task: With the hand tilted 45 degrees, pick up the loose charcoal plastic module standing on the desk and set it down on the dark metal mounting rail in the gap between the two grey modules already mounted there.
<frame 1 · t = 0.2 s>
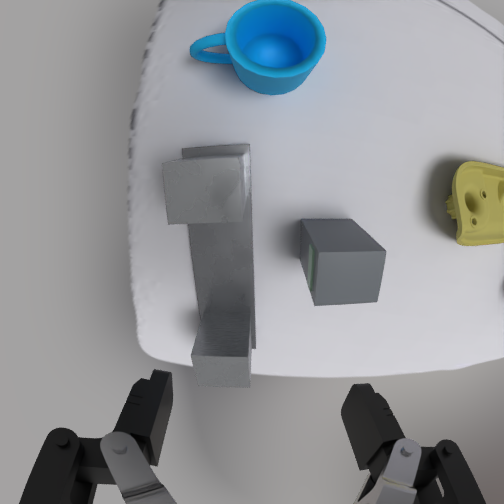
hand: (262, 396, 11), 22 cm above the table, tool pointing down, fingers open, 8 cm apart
mug: (254, 61, 25), on the table
module: (325, 239, 32), on the table
plastic component: (477, 200, 29), on the table
rail: (223, 258, 33), on the table
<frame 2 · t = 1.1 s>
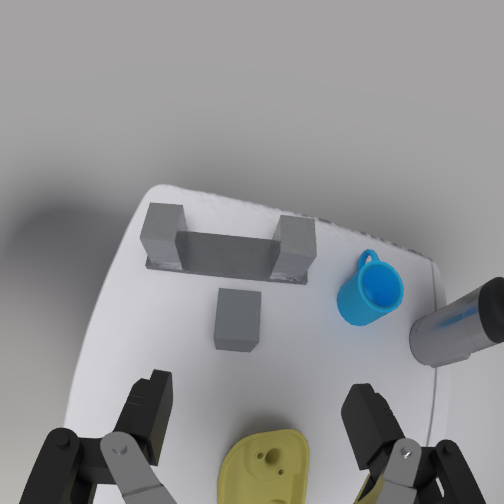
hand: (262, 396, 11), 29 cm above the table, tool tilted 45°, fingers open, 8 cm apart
mug: (357, 292, 45), on the table
module: (234, 331, 40), on the table
plastic component: (263, 482, 30), on the table
rail: (227, 257, 46), on the table
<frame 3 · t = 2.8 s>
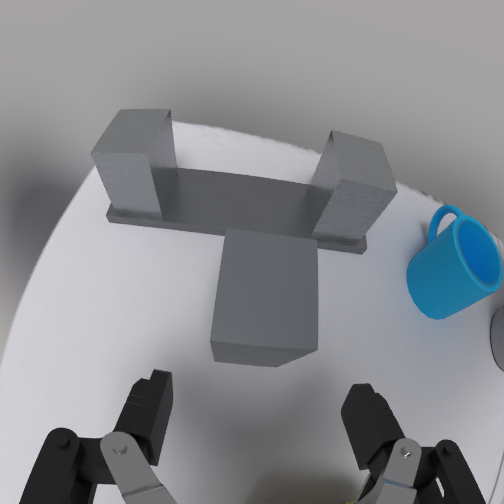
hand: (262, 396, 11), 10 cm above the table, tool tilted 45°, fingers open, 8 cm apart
mug: (429, 270, 27), on the table
module: (249, 329, 22), on the table
rail: (238, 207, 28), on the table
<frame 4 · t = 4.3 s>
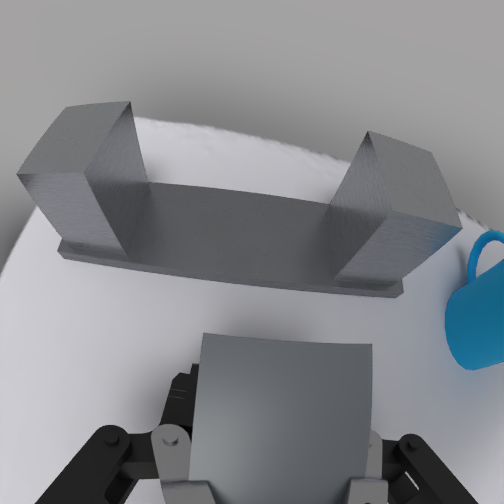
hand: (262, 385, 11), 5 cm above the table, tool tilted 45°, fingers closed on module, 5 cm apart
mug: (467, 309, 20), on the table
module: (248, 414, 15), on the table, touching gripper
rail: (232, 238, 20), on the table
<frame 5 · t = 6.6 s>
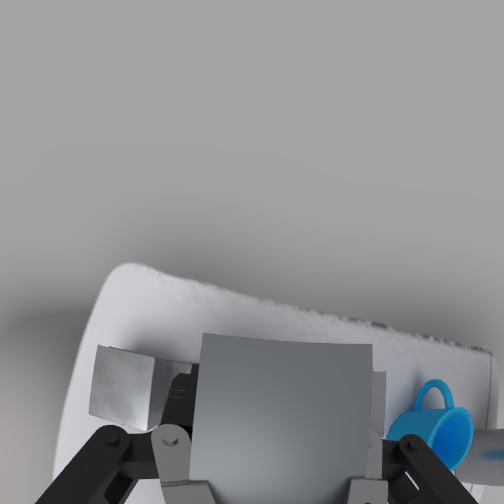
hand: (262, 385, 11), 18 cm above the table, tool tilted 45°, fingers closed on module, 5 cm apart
mug: (410, 425, 26), on the table
module: (248, 414, 15), point 13 cm above the table, touching gripper
rail: (236, 401, 26), on the table
when the fingers open (7 cm above the table, at t = 8.9 s): module stays where it is, resting on rail.
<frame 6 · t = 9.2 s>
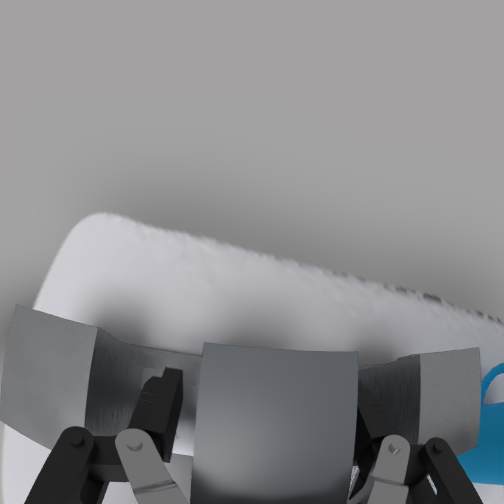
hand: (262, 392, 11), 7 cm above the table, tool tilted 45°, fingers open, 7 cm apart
mug: (469, 426, 16), on the table
module: (247, 414, 15), point 1 cm above the table, touching rail
rail: (245, 411, 17), on the table
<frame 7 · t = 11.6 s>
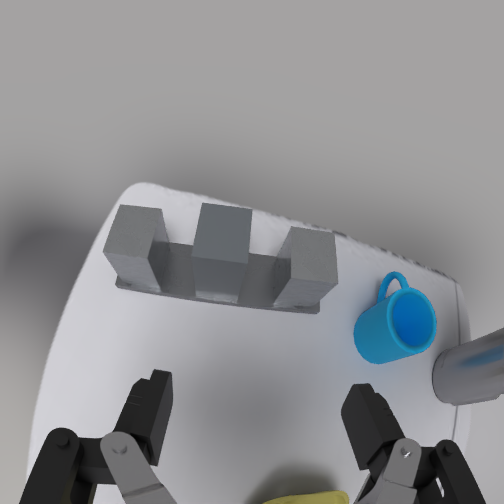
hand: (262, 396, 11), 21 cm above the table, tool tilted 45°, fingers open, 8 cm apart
mug: (377, 323, 36), on the table
module: (219, 274, 34), point 1 cm above the table, touching rail
rail: (219, 277, 36), on the table
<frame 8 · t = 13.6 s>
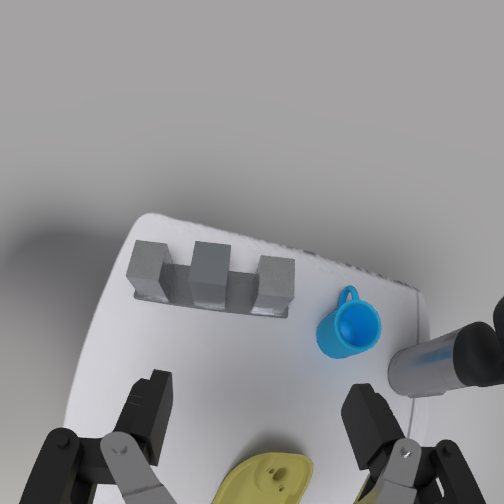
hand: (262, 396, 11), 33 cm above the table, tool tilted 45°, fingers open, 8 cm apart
mug: (337, 326, 47), on the table
module: (211, 288, 46), point 1 cm above the table, touching rail
plastic component: (259, 493, 31), on the table
rail: (211, 290, 47), on the table
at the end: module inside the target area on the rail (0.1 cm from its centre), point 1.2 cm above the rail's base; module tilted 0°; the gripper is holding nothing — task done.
